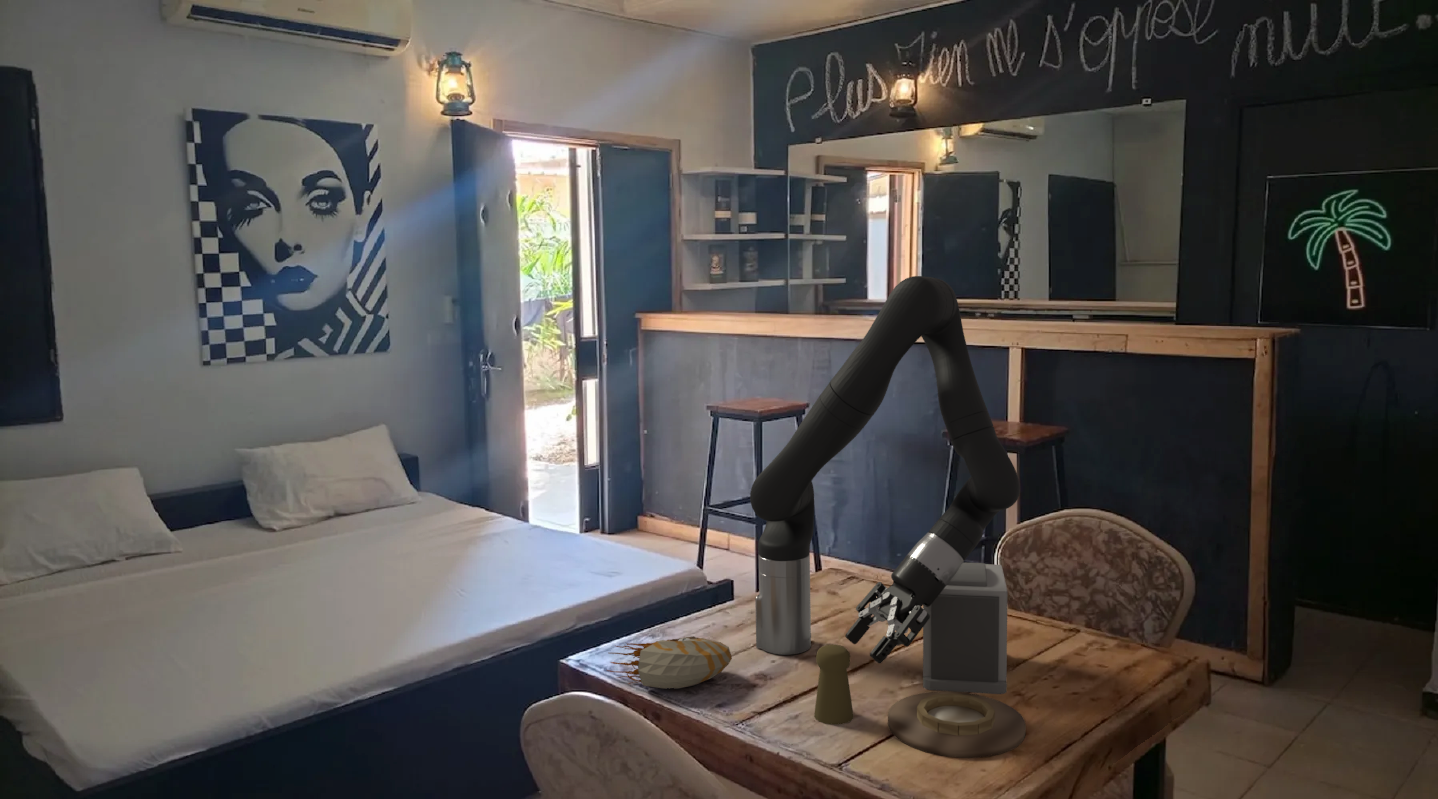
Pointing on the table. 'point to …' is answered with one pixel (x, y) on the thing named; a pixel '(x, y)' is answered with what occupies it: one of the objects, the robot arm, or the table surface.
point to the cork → (833, 686)
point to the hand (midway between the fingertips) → (861, 650)
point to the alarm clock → (968, 633)
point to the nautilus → (677, 662)
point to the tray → (956, 724)
